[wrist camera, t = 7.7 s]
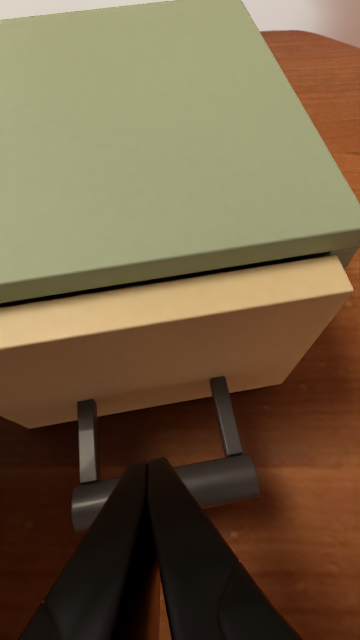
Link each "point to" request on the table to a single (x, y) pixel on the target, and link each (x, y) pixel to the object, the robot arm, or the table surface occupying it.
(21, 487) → the table surface
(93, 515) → the drawer
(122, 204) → the cabinet
